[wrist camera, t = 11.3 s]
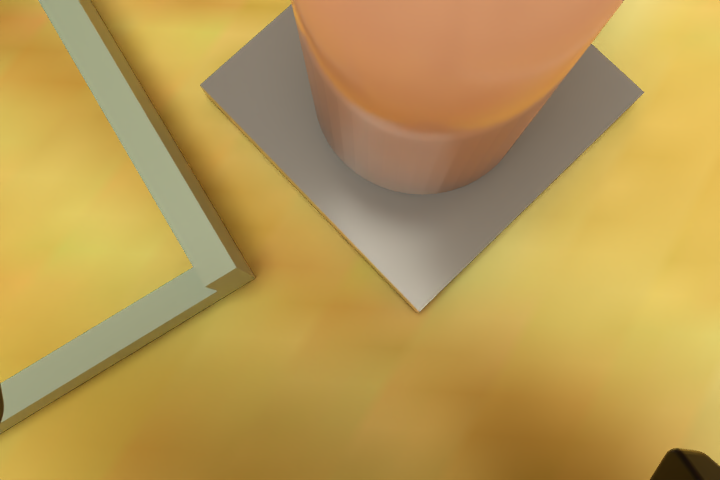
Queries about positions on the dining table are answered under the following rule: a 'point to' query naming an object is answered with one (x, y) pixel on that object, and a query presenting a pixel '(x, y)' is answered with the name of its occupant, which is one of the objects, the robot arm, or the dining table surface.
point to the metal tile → (396, 209)
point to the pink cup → (437, 80)
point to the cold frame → (176, 202)
